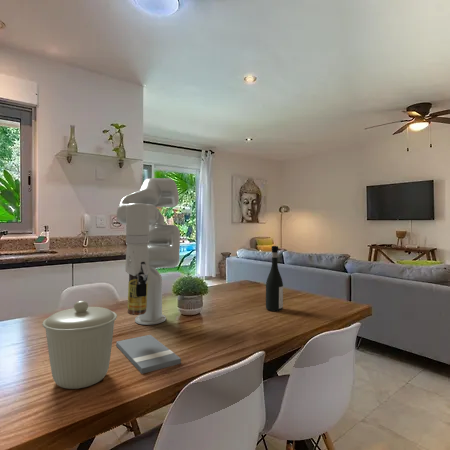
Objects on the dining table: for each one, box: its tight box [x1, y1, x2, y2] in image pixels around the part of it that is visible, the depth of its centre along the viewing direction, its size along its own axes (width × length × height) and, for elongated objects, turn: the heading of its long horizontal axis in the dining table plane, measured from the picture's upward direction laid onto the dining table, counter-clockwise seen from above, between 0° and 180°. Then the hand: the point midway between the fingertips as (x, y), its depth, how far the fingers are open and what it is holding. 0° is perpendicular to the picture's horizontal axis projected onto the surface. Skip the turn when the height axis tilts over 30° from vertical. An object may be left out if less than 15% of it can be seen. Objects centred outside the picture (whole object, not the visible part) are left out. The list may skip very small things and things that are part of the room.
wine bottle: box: [265, 245, 284, 312], centre depth 157 cm, size 8×8×30 cm
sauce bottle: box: [127, 273, 148, 316], centre depth 112 cm, size 6×6×20 cm
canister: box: [41, 300, 118, 390], centre depth 89 cm, size 18×18×21 cm
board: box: [115, 334, 182, 375], centre depth 106 cm, size 24×12×2 cm, turn 34°
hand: (137, 293), depth 112 cm, fingers closed on sauce bottle, 6 cm apart
